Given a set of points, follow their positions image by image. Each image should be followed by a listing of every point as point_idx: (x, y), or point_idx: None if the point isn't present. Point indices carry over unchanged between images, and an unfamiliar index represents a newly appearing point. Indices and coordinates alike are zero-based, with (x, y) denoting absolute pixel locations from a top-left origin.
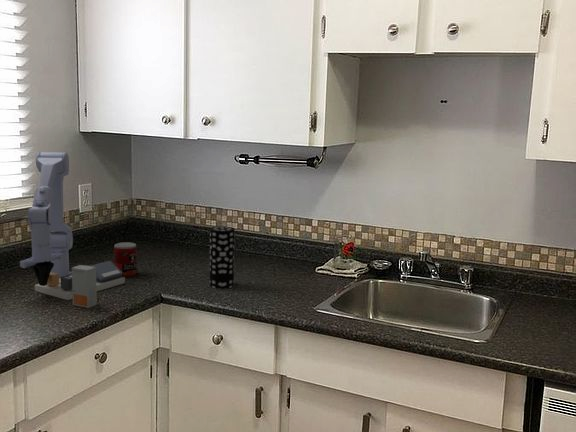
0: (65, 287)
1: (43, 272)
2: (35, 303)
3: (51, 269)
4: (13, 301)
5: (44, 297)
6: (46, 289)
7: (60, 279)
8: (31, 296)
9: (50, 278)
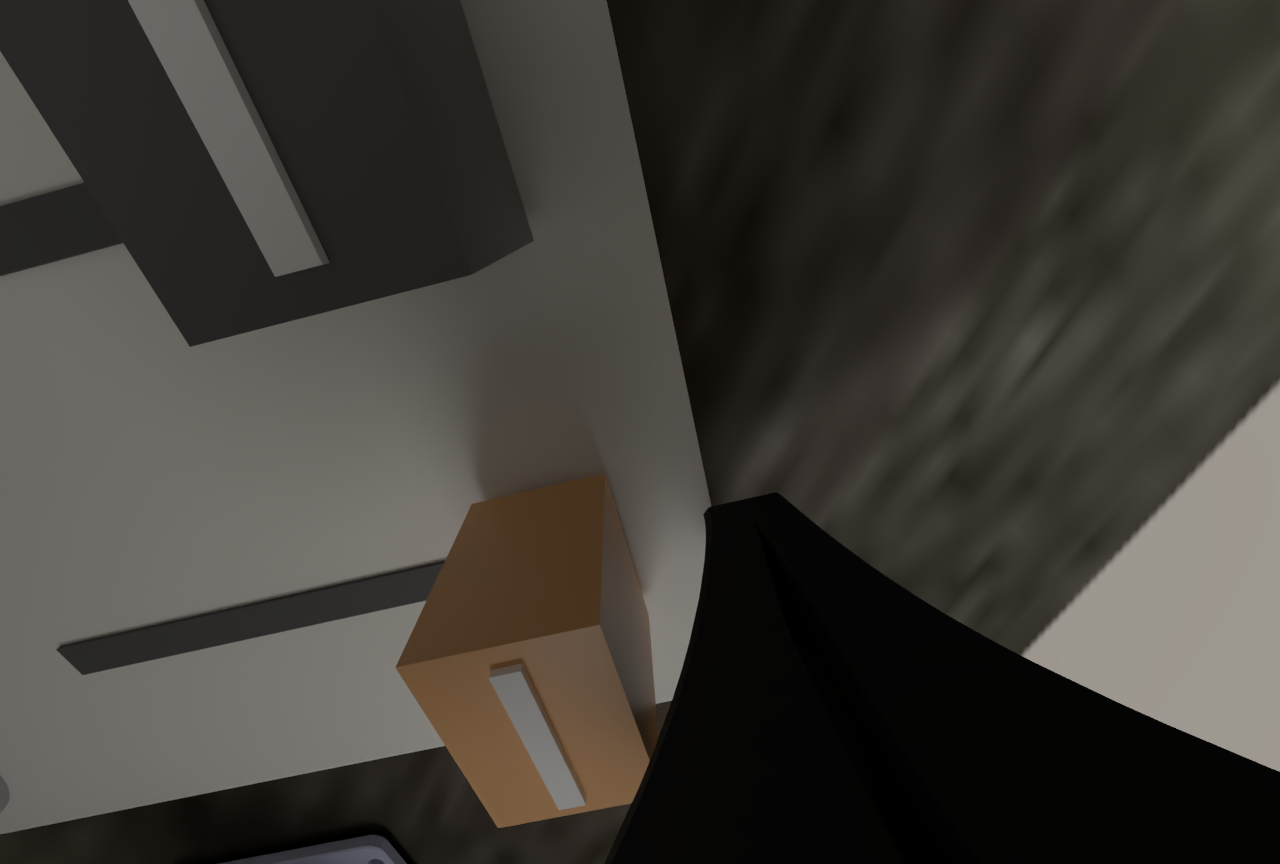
0: (461, 43)
1: (1003, 702)
2: (1074, 80)
3: (639, 816)
4: (1156, 397)
5: (789, 312)
6: (702, 467)
7: (370, 723)
8: (880, 459)
9: (619, 613)
